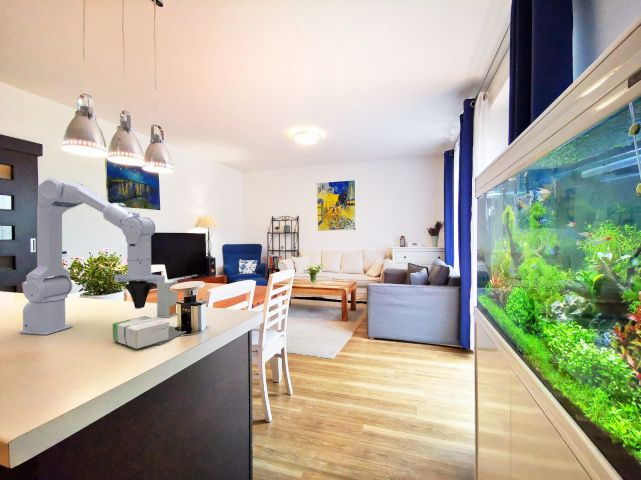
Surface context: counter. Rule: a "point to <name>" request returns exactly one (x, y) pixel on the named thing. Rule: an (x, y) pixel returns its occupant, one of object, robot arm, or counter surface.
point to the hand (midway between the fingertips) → (139, 307)
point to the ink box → (140, 331)
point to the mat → (171, 335)
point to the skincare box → (166, 299)
